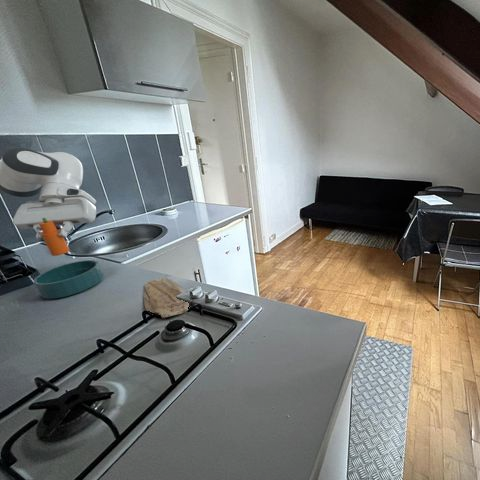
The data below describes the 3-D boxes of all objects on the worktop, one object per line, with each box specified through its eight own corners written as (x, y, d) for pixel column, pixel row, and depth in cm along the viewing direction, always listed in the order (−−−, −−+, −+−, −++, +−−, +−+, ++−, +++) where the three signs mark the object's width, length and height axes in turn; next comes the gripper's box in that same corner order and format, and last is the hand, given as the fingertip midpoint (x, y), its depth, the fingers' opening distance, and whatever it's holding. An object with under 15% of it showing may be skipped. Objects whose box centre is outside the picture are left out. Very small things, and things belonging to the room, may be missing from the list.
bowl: (52, 305, 74) (43, 289, 72) (34, 292, 82) (26, 277, 79) (112, 280, 86) (106, 265, 84) (92, 270, 93) (86, 257, 91)
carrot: (54, 256, 78) (36, 220, 74) (49, 254, 80) (31, 219, 76) (72, 251, 81) (55, 216, 77) (66, 249, 83) (50, 215, 79)
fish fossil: (131, 289, 80) (130, 286, 79) (167, 277, 87) (166, 274, 86) (162, 323, 63) (160, 319, 63) (203, 305, 70) (202, 301, 70)
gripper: (12, 196, 79) (0, 237, 74) (88, 189, 82) (81, 228, 77) (31, 207, 84) (21, 246, 79) (101, 200, 88) (96, 237, 83)
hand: (51, 237), depth 78 cm, fingers closed on carrot, 4 cm apart
